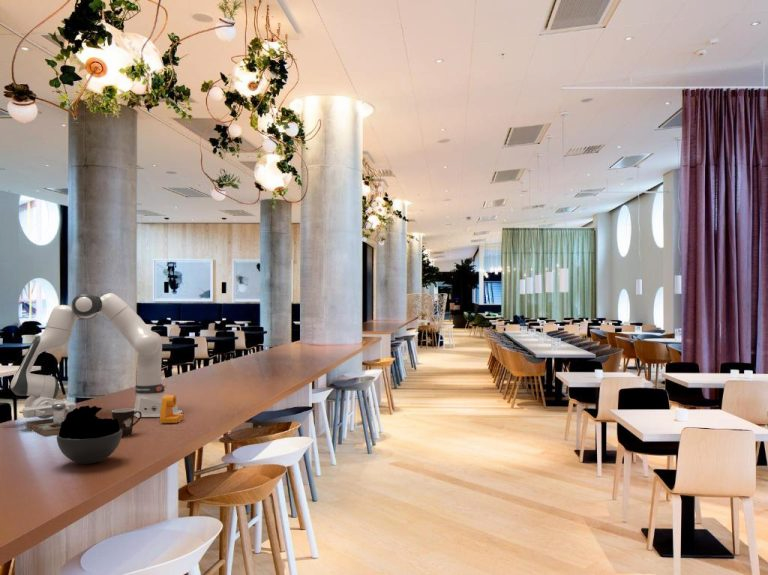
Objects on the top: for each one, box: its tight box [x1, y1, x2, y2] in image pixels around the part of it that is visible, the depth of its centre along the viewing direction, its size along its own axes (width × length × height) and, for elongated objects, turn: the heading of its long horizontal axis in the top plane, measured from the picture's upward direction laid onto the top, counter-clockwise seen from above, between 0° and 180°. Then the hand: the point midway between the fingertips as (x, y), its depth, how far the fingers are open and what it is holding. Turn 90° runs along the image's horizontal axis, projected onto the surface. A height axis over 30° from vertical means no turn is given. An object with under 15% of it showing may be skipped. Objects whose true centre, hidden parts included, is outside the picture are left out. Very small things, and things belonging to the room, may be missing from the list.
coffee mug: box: [111, 407, 142, 437], centre depth 252 cm, size 12×9×10 cm
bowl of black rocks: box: [56, 405, 123, 465], centre depth 210 cm, size 20×20×19 cm
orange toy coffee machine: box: [159, 394, 185, 424], centre depth 278 cm, size 11×7×12 cm, turn 179°
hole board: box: [25, 418, 66, 437], centre depth 263 cm, size 24×14×3 cm, turn 45°
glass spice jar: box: [52, 404, 66, 428], centre depth 259 cm, size 5×5×11 cm
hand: (55, 412), depth 262 cm, fingers open, 8 cm apart
